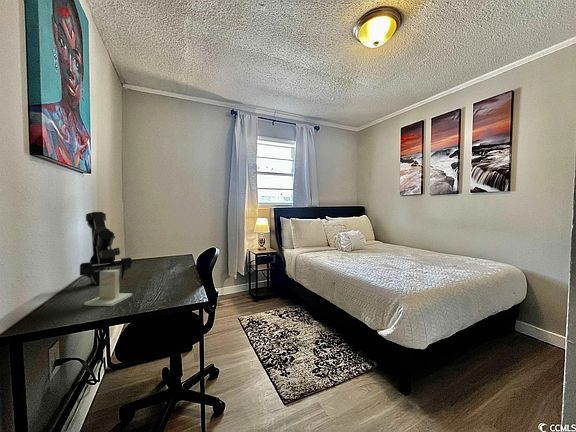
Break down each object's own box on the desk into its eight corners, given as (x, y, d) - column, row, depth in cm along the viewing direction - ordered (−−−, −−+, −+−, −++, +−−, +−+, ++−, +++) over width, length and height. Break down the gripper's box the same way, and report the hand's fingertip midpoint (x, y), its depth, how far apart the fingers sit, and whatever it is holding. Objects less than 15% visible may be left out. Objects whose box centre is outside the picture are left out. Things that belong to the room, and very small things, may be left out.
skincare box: (98, 300, 103) (98, 272, 102) (104, 296, 107) (104, 269, 107) (115, 299, 104) (114, 271, 104) (120, 295, 108) (119, 268, 108)
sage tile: (84, 305, 100) (84, 302, 100) (107, 294, 112) (107, 292, 112) (111, 305, 99) (111, 303, 99) (132, 295, 111) (132, 293, 111)
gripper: (79, 244, 101) (82, 275, 93) (131, 240, 114) (137, 267, 107) (78, 260, 107) (81, 290, 99) (127, 254, 120) (133, 281, 113)
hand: (109, 281), depth 104 cm, fingers open, 9 cm apart
